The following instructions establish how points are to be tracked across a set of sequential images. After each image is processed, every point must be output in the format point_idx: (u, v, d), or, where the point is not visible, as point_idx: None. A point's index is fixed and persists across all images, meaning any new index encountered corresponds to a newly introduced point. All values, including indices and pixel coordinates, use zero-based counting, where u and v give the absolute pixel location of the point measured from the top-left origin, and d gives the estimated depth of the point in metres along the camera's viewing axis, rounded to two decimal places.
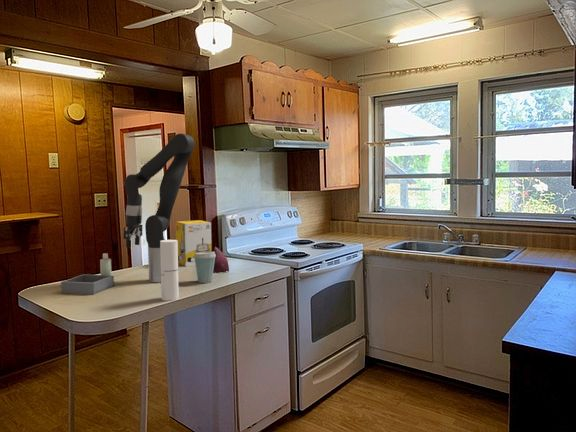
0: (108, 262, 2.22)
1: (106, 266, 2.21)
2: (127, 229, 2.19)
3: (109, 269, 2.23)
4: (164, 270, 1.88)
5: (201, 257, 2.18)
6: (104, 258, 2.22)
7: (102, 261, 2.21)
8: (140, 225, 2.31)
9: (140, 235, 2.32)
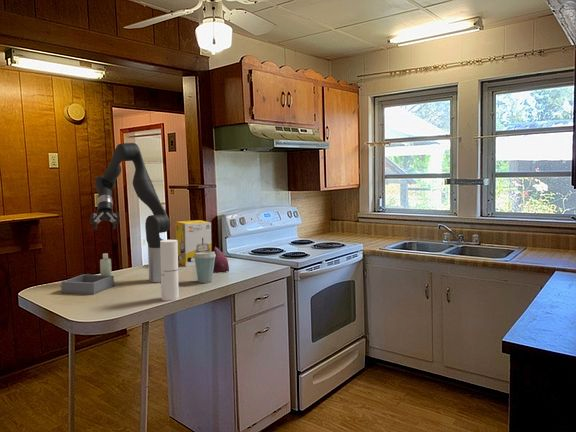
0: (108, 262, 2.22)
1: (106, 266, 2.21)
2: (91, 214, 2.35)
3: (109, 269, 2.23)
4: (164, 270, 1.88)
5: (201, 257, 2.18)
6: (104, 258, 2.22)
7: (102, 261, 2.21)
8: (116, 213, 2.40)
9: (117, 220, 2.37)
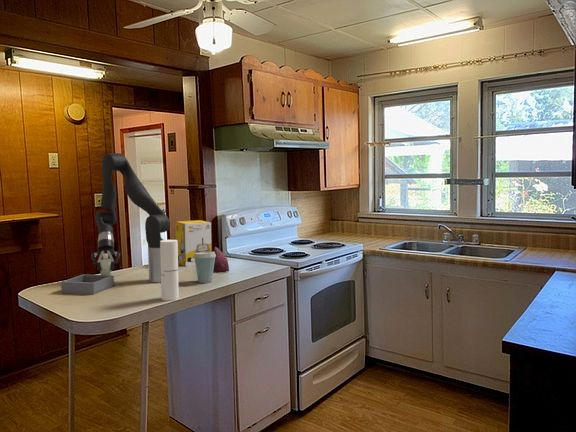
0: (108, 262, 2.22)
1: (106, 266, 2.21)
2: (91, 255, 2.25)
3: (109, 269, 2.23)
4: (164, 270, 1.88)
5: (201, 257, 2.18)
6: (104, 258, 2.22)
7: (102, 261, 2.21)
8: (117, 252, 2.29)
9: (115, 260, 2.26)
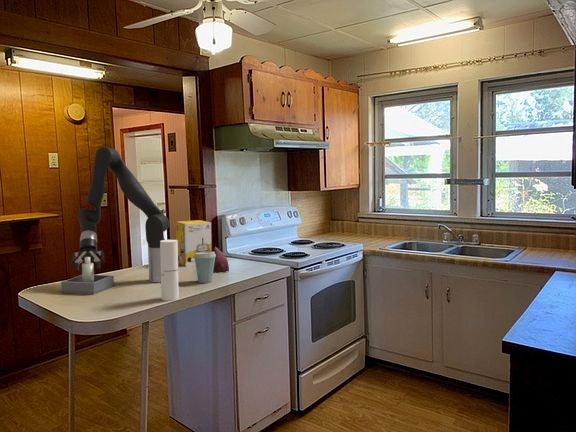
0: (90, 266, 2.06)
1: (88, 271, 2.06)
2: (72, 253, 2.09)
3: (91, 274, 2.07)
4: (164, 270, 1.88)
5: (201, 257, 2.18)
6: (86, 262, 2.06)
7: (84, 265, 2.05)
8: (101, 251, 2.14)
9: (102, 260, 2.11)
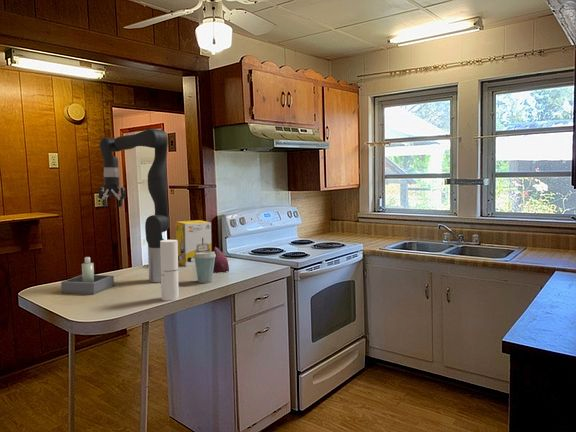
0: (90, 266, 2.06)
1: (88, 271, 2.06)
2: None
3: (91, 274, 2.07)
4: (164, 270, 1.88)
5: (201, 257, 2.18)
6: (86, 262, 2.06)
7: (84, 265, 2.05)
8: (121, 188, 2.35)
9: None
